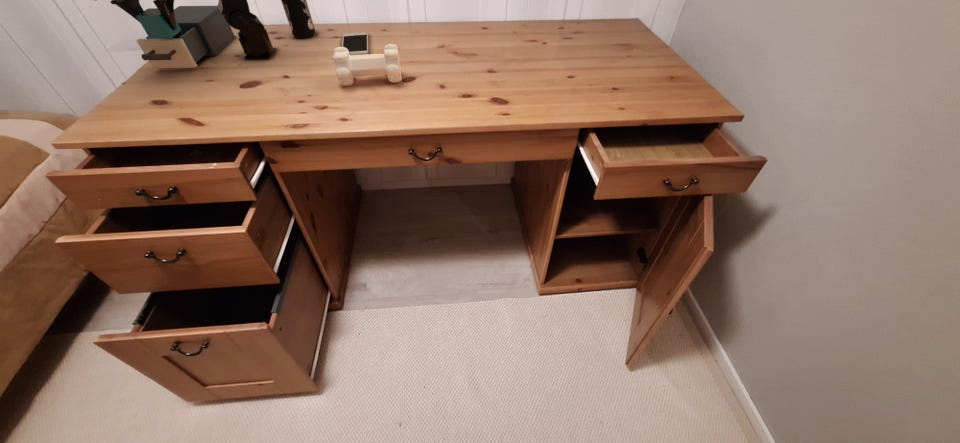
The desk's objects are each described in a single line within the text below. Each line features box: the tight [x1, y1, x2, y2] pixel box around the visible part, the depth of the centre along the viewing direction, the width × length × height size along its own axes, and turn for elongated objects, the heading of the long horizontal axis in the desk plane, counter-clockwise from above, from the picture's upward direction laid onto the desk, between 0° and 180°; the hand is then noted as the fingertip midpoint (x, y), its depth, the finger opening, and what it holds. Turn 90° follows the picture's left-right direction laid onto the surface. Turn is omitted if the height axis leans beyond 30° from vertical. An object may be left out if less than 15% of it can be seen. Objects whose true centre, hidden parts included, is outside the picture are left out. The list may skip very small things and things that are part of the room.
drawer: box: [136, 26, 210, 69], centre depth 97 cm, size 17×10×7 cm, turn 3°
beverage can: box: [280, 0, 316, 39], centre depth 110 cm, size 7×7×12 cm
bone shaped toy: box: [332, 43, 403, 87], centre depth 91 cm, size 15×9×8 cm, turn 99°
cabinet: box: [174, 5, 236, 57], centre depth 105 cm, size 14×12×9 cm
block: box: [136, 7, 181, 39], centre depth 89 cm, size 5×5×5 cm
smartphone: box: [341, 31, 370, 55], centre depth 108 cm, size 7×16×1 cm, turn 12°
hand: (163, 29), depth 90 cm, fingers closed on block, 5 cm apart
